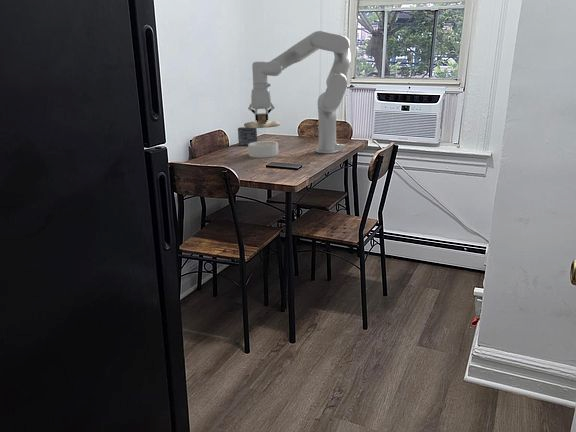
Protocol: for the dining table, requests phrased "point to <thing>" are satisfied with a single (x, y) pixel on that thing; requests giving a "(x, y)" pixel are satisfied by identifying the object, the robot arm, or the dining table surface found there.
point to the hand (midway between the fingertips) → (261, 121)
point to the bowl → (263, 149)
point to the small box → (247, 135)
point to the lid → (261, 123)
